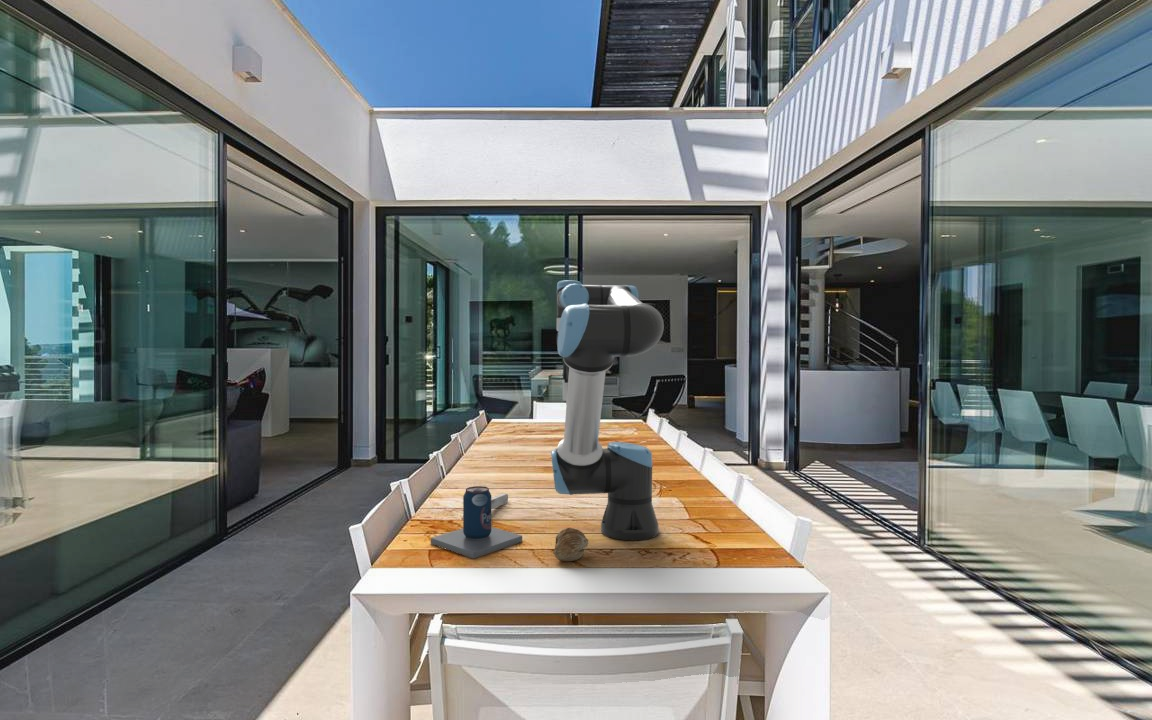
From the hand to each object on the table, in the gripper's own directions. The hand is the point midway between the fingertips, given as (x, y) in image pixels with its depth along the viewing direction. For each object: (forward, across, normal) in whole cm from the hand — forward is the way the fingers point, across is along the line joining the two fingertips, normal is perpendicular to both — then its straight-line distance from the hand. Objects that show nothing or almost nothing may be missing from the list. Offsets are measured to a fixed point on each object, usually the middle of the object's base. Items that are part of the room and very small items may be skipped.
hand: (569, 402), depth 186 cm
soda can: (+30, -31, +25) cm, 50 cm away
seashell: (+32, -44, +3) cm, 54 cm away
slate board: (+32, -31, +26) cm, 51 cm away
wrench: (+32, -6, +24) cm, 40 cm away
